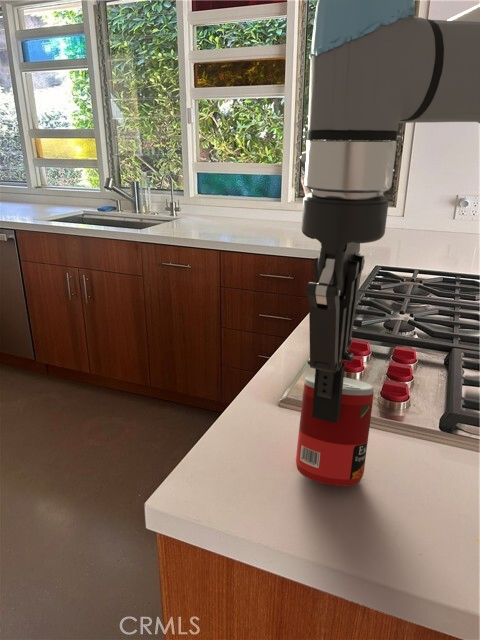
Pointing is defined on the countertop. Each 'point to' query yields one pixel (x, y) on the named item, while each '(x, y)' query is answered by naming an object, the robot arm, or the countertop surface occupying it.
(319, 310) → the robot arm
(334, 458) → the canned food
